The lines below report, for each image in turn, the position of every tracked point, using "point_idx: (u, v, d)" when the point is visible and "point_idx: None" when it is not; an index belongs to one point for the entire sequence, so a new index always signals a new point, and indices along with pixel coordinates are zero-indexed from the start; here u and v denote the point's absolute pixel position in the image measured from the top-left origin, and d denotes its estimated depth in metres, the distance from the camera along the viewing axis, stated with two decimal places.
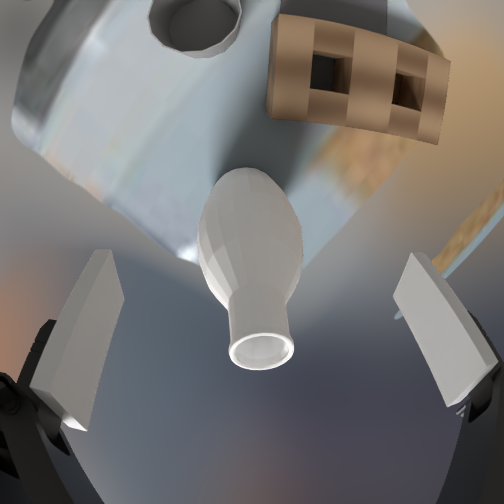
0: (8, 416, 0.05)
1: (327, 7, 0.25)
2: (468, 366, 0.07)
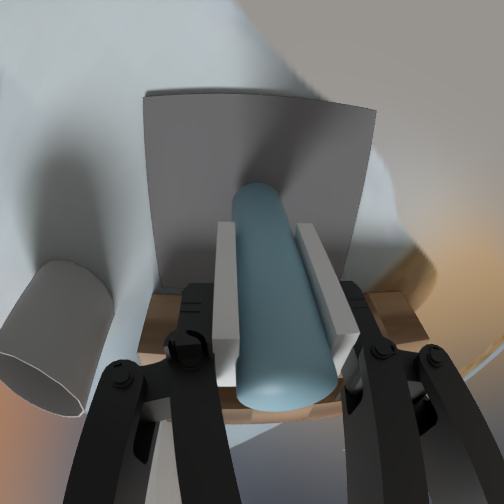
0: (182, 372, 0.07)
1: None
2: (326, 335, 0.09)
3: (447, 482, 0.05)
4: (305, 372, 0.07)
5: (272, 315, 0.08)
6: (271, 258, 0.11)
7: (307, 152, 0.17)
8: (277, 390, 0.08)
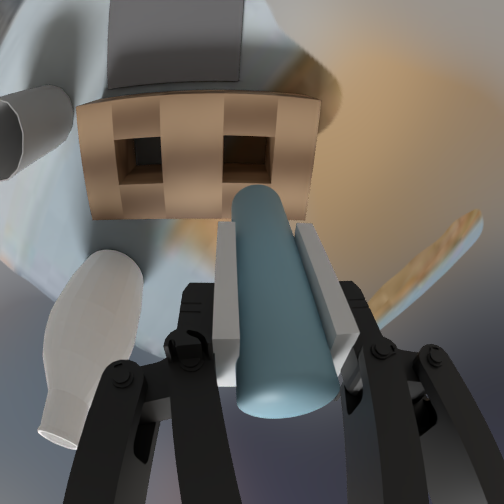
0: (182, 372, 0.07)
1: (157, 62, 0.24)
2: (326, 335, 0.09)
3: (447, 482, 0.05)
4: (306, 381, 0.07)
5: (273, 322, 0.08)
6: (272, 263, 0.11)
7: None
8: (278, 398, 0.08)
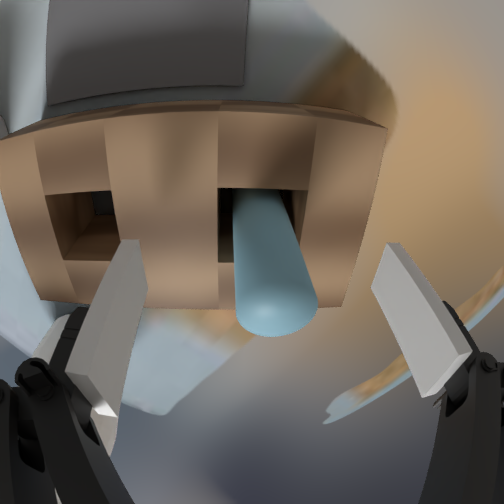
0: (40, 402, 0.05)
1: (115, 59, 0.14)
2: (441, 355, 0.08)
3: (503, 477, 0.04)
4: (290, 289, 0.10)
5: (264, 249, 0.11)
6: (264, 214, 0.13)
7: None
8: (269, 309, 0.10)
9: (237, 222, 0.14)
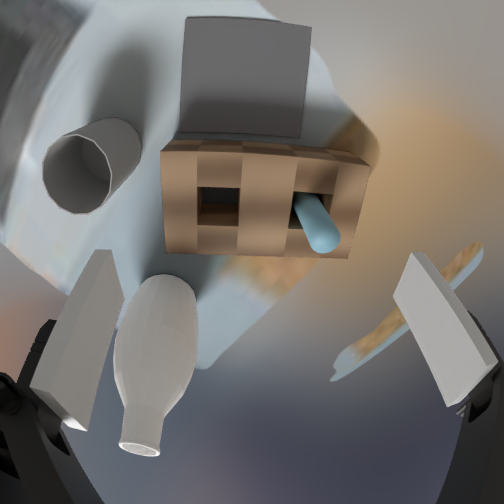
0: (8, 416, 0.05)
1: (229, 113, 0.31)
2: (468, 366, 0.07)
3: None
4: (330, 230, 0.26)
5: (319, 216, 0.27)
6: (315, 204, 0.30)
7: (272, 47, 0.26)
8: (322, 238, 0.27)
9: (301, 207, 0.31)
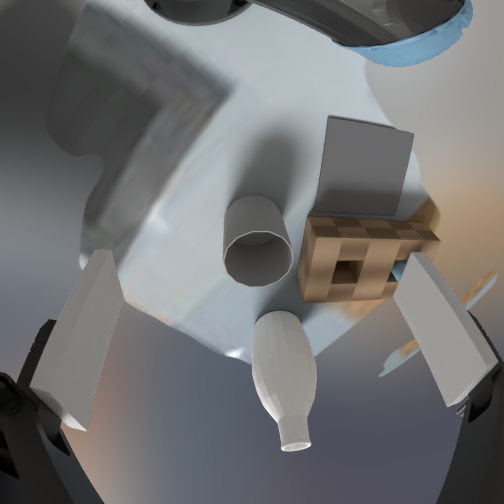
0: (8, 416, 0.05)
1: (352, 199, 0.42)
2: (468, 366, 0.07)
3: None
4: None
5: None
6: None
7: (388, 149, 0.37)
8: None
9: (399, 270, 0.42)
